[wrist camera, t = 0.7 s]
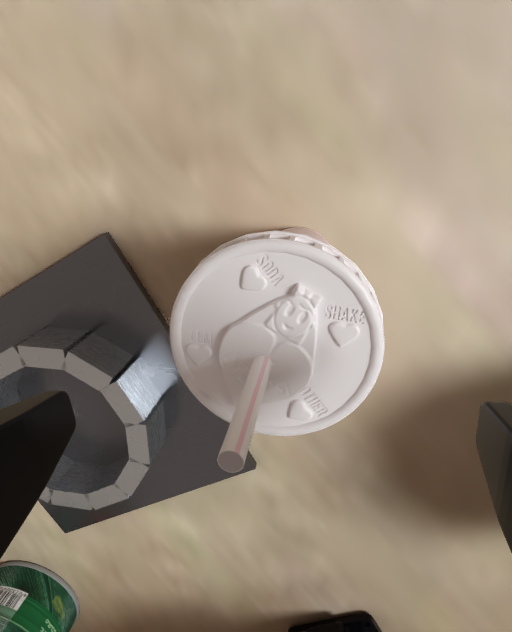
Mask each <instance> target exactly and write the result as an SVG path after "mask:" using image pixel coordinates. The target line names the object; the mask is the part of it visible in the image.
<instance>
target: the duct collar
mask: <svg viewBox="0 0 512 632" xmlns="http://www.w3.org/2000/svg"><path fill="white" fill-rule="evenodd" d="M49 390H58V391H65V392H67V393H68V395H69V397H70V400H71V404H72V407H73V411H74V415H75V418H76V428H75V431H74V433H73V435H72V437H71V439H70V441H69V443H68V445H67V447H66V449H65V451H64V453H63V455H62V457H61V459H60V461H59V463H58V465H57V466H56V468H55V470H54V472H53V474H52V476H51V478H50V480H49V482H48V484H47V486H46V487H45V489H44V491H43V492H42V494H41V496H40V497H39V499H38V501H39V502H40V504H41V505H42V506H43V507H44V508H45V510H46V511H47V512H48V513H49V514H50V516H51V517H52V518H53V519H54V520H55V522H56V523H57V524H58V525H59V526H60V528H61V529H62V530H63V531H64V532H65V533H68V532H71V531H74V530H77V529H79V528H82V527H85V526H88V525H91V524H94V523H97V522H100V521H103V520H106V519H109V518H112V517H115V516H118V515H121V514H124V513H127V512H130V511H133V510H135V509H138V508H141V507H144V506H147V505H150V504H153V503H156V502H159V501H162V500H165V499H168V498H171V497H174V496H177V495H180V494H183V493H186V492H189V491H192V490H194V489H197V488H200V487H203V486H206V485H209V484H212V483H215V482H218V481H221V480H224V479H227V478H230V477H233V476H236V475H239V474H242V473H245V472H248V471H251V470H253V469H255V468H256V464H257V463H256V461H255V460H254V458H253V457H252V455H251V454H250V452H249V450H248V453H247V456H246V460H245V464H244V467H243V469H242V470H240V471H239V472H235V473H230V472H227V471H224V470H223V469H222V468H221V467H220V466H219V464H218V462H217V458H218V455H219V452H220V449H221V447H222V444H223V441H224V439H225V436H226V433H227V431H228V428H229V425H230V423H229V422H227V421H225V420H223V419H222V418H220V417H218V416H217V415H215V414H214V413H213V412H211V411H210V410H209V409H207V408H206V407H205V406H204V405H203V404H202V403H201V402H200V401H199V400H198V399H197V398H196V397H195V396H194V395H193V393H192V392H191V391H190V390H189V388H188V387H187V385H186V384H185V382H184V381H183V379H182V377H181V375H180V373H179V371H178V369H177V366H176V364H175V361H174V358H173V354H172V350H171V344H170V327H169V326H168V324H167V323H166V321H165V319H164V318H163V316H162V315H161V313H160V312H159V310H158V308H157V307H156V305H155V304H154V302H153V301H152V299H151V298H150V296H149V294H148V293H147V291H146V290H145V288H144V287H143V285H142V284H141V282H140V280H139V279H138V277H137V276H136V274H135V273H134V271H133V269H132V268H131V266H130V265H129V263H128V262H127V260H126V259H125V257H124V255H123V254H122V252H121V251H120V249H119V248H118V246H117V244H116V243H115V241H114V240H113V238H112V237H111V235H110V234H109V232H107V233H105V234H103V235H101V236H100V237H98V238H96V239H95V240H93V241H92V242H90V243H88V244H87V245H85V246H84V247H82V248H80V249H79V250H77V251H75V252H74V253H72V254H71V255H69V256H67V257H66V258H64V259H63V260H61V261H59V262H58V263H56V264H55V265H53V266H51V267H50V268H48V269H47V270H45V271H43V272H42V273H40V274H39V275H37V276H35V277H34V278H32V279H31V280H29V281H27V282H26V283H24V284H23V285H21V286H19V287H18V288H16V289H15V290H13V291H11V292H10V293H8V294H7V295H5V296H3V297H2V298H0V409H3V408H5V407H8V406H10V405H13V404H15V403H18V402H20V401H23V400H25V399H28V398H30V397H33V396H36V395H38V394H41V393H43V392H46V391H49Z"/></svg>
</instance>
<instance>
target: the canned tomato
mask: <svg viewBox="0 0 512 632" xmlns="http://www.w3.org/2000/svg"><path fill="white" fill-rule="evenodd" d="M79 612H80V606H79V602H78V599H77V597H76V595H75V593H74V591H73V590H72V589H71V587H70V586H69V585H68V584H67V583H66V582H65V581H64V580H63V579H62V578H60V577H59V576H58V575H56V574H55V573H53V572H52V571H50V570H48V569H46V568H44V567H42V566H39V565H36V564H33V563H29V562H23V561H11V562H7V563H3V564H1V565H0V632H69V631H70V629H71V628H72V626H73V624H74V623H75V621H76V620H77V618H78V615H79Z"/></svg>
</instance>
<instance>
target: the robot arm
mask: <svg viewBox="0 0 512 632" xmlns="http://www.w3.org/2000/svg"><path fill="white" fill-rule="evenodd" d="M75 428H76V418H75V415H74V411H73V407H72V404H71V400H70V397H69V395H68V393H67V392H65V391H58V390H49V391H46V392H43V393H41V394H38V395H36V396H33V397H30V398H28V399H25V400H23V401H20V402H18V403H15V404H13V405H10V406H8V407H5V408H3V409H0V559H1V557H2V556H3V554H4V552H5V551H6V549H7V548H8V546H9V545H10V543H11V541H12V540H13V538H14V537H15V535H16V534H17V532H18V530H19V529H20V527H21V526H22V524H23V523H24V521H25V519H26V518H27V516H28V515H29V513H30V512H31V510H32V508H33V507H34V505H35V504H36V502H37V501H38V499H39V497H40V496H41V494H42V492H43V491H44V489H45V487H46V486H47V484H48V482H49V480H50V478H51V476H52V474H53V472H54V470H55V468H56V466H57V465H58V463H59V461H60V459H61V457H62V455H63V453H64V451H65V449H66V447H67V445H68V443H69V441H70V439H71V437H72V435H73V433H74V431H75ZM476 443H477V449H478V452H479V456H480V459H481V463H482V466H483V470H484V473H485V477H486V480H487V484H488V487H489V491H490V494H491V498H492V501H493V505H494V508H495V511H496V514H497V518H498V521H499V523H500V526H501V528H502V531H503V533H504V536H505V538H506V541H507V543H508V545H509V548H510V550H511V552H512V405H511V404H509V403H507V402H502V401H485V402H483V403H482V405H481V407H480V413H479V420H478V427H477V434H476ZM288 632H382V631H381V630H380V628H379V626H378V625H377V623H376V622H375V620H374V618H373V617H372V616H371V615H369V614H359V615H354V616H349V617H344V618H339V619H334V620H329V621H323V622H318V623H313V624H308V625H303V626H298V627H293V628H290V629H289V630H288Z"/></svg>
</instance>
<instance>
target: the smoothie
mask: <svg viewBox="0 0 512 632" xmlns="http://www.w3.org/2000/svg"><path fill="white" fill-rule="evenodd" d="M170 344H171V350H172V354H173V358H174V361H175V364H176V366H177V369H178V371H179V373H180V375H181V377H182V379H183V381H184V382H185V384H186V385H187V387H188V388H189V390H190V391H191V392H192V393H193V395H194V396H195V397H196V398H197V399H198V400H199V401H200V402H201V403H202V404H203V405H204V406H205V407H206V408H207V409H209V410H210V411H211V412H213V413H214V414H215V415H217V416H218V417H220V418H222V419H223V420H225V421H227V422H229V423H230V425H229V428H228V431H227V433H226V436H225V439H224V441H223V444H222V447H221V449H220V452H219V455H218V458H217V462H218V464H219V466H220V467H221V468H222V469H223V470H224V471H227V472H230V473H235V472H239V471H240V470H242V469H243V467H244V464H245V460H246V456H247V453H248V449H249V446H250V442H251V438H252V435H253V432H255V433H259V434H265V435H273V436H294V435H302V434H307V433H311V432H315V431H319V430H321V429H324V428H327V427H329V426H331V425H333V424H335V423H337V422H339V421H340V420H342V419H344V418H345V417H346V416H348V415H349V414H350V413H352V412H353V411H354V410H355V409H356V408H357V407H358V406H359V405H360V404H361V403H362V402H363V401H364V400H365V398H366V397H367V396H368V394H369V393H370V391H371V390H372V388H373V386H374V384H375V383H376V380H377V378H378V376H379V373H380V370H381V367H382V362H383V357H384V347H385V341H384V330H383V314H382V311H381V308H380V305H379V302H378V300H377V297H376V294H375V291H374V289H373V287H372V285H371V284H370V283H369V281H368V280H367V279H366V277H365V276H364V274H363V273H362V272H361V270H360V269H359V268H358V266H357V265H356V264H355V263H354V262H352V261H351V260H350V259H349V258H347V257H346V256H345V255H344V254H342V253H341V252H340V251H339V250H337V249H336V248H335V247H333V246H332V245H330V244H329V243H328V242H327V240H326V239H325V238H324V237H323V236H322V235H320V234H319V233H317V232H316V231H314V230H311V229H308V228H304V227H292V228H287V229H284V230H282V231H278V230H274V231H266V232H258V233H250V234H245V235H243V236H241V237H238V238H236V239H234V240H231V241H229V242H226V243H224V244H222V245H220V246H219V247H218V248H216V249H215V250H214V251H213V252H211V253H210V254H209V255H208V256H206V257H205V258H204V259H203V260H201V261H200V262H199V264H198V265H197V267H196V268H195V270H194V271H193V272H192V273H191V274H190V275H189V277H188V278H187V280H186V281H185V282H184V284H183V286H182V287H181V289H180V291H179V293H178V295H177V297H176V300H175V302H174V306H173V309H172V313H171V319H170Z"/></svg>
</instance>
